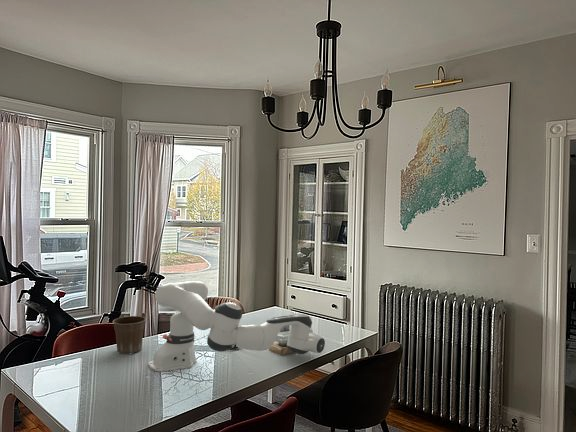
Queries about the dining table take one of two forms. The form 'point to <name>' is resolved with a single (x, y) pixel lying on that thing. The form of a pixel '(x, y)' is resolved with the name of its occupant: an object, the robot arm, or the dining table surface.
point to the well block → (279, 349)
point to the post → (283, 329)
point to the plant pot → (129, 333)
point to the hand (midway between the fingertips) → (283, 331)
